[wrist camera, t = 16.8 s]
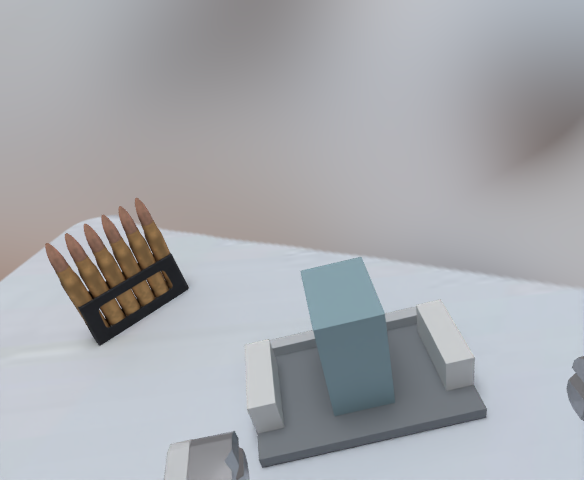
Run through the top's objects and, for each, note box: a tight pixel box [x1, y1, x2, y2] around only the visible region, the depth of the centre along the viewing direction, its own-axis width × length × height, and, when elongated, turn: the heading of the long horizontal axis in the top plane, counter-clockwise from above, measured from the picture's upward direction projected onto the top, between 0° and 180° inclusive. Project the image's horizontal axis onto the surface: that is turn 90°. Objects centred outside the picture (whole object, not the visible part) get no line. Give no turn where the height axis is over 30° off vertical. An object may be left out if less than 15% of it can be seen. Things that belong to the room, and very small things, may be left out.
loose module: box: [301, 257, 395, 416], centre depth 32 cm, size 4×6×9 cm
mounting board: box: [245, 299, 487, 468], centre depth 34 cm, size 16×10×4 cm, turn 97°
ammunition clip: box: [45, 198, 189, 345], centre depth 45 cm, size 11×2×12 cm, turn 131°
